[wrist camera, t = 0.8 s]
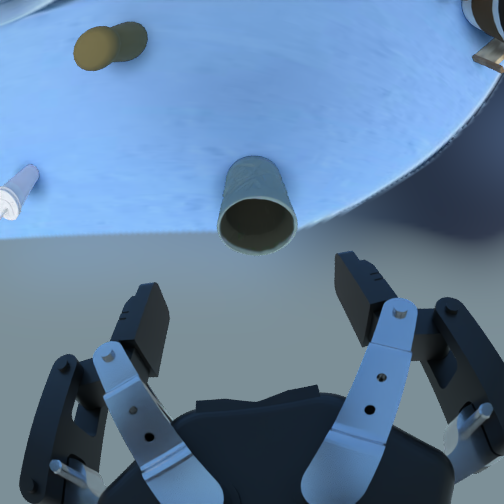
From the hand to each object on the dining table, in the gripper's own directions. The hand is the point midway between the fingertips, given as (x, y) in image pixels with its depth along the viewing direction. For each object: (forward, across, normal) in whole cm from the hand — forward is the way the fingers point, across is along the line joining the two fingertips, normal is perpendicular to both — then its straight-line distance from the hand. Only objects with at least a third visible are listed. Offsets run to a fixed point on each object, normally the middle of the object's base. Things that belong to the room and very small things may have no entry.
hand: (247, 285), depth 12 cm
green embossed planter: (+33, -2, +4) cm, 34 cm away
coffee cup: (+22, -42, -27) cm, 55 cm away
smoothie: (+31, +37, -8) cm, 49 cm away
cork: (+26, +11, -21) cm, 35 cm away
